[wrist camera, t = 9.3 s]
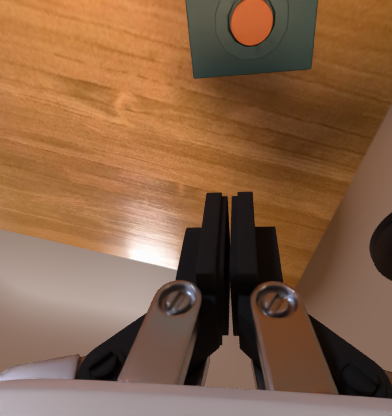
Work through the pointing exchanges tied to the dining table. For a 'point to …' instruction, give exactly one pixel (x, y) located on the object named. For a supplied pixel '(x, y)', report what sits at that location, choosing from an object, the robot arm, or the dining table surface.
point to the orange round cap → (251, 21)
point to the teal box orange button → (256, 54)
